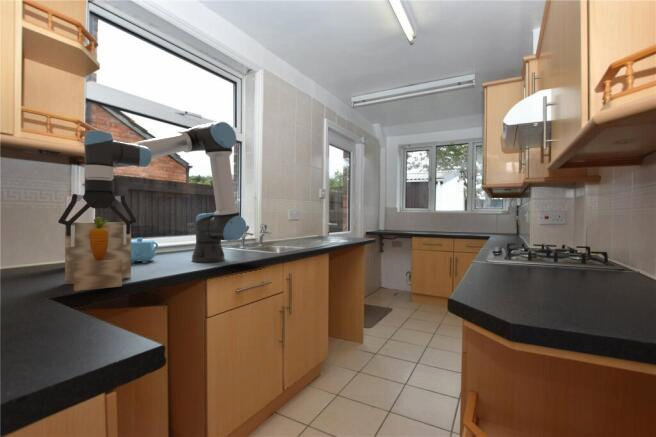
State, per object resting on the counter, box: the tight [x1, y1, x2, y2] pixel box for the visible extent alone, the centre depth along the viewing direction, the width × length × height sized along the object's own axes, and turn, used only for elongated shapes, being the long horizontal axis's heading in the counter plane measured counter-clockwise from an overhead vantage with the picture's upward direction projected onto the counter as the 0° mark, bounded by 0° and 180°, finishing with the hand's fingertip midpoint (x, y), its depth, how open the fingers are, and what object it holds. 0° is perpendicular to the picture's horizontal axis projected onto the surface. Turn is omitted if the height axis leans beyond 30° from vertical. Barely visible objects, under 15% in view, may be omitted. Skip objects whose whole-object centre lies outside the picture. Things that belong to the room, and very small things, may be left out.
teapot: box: [131, 237, 159, 265], centre depth 146 cm, size 16×18×11 cm
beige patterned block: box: [64, 221, 132, 292], centre depth 102 cm, size 18×14×20 cm
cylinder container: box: [66, 195, 96, 222], centre depth 132 cm, size 9×9×30 cm
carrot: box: [90, 216, 109, 261], centre depth 101 cm, size 5×5×15 cm
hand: (99, 245), depth 101 cm, fingers open, 13 cm apart
